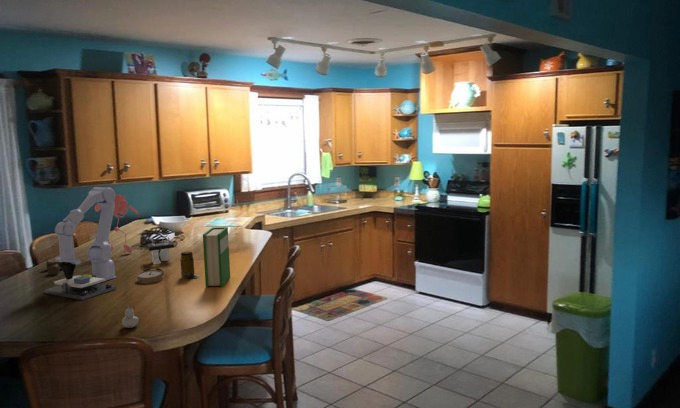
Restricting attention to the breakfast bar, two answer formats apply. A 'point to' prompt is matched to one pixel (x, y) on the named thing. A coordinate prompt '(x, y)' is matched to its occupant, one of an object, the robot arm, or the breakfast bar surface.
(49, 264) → the kendama
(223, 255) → the hardback book
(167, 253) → the black-topped pedestal
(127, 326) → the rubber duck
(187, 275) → the condiment
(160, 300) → the breakfast bar surface
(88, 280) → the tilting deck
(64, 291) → the base
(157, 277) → the alarm clock
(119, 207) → the figurine
